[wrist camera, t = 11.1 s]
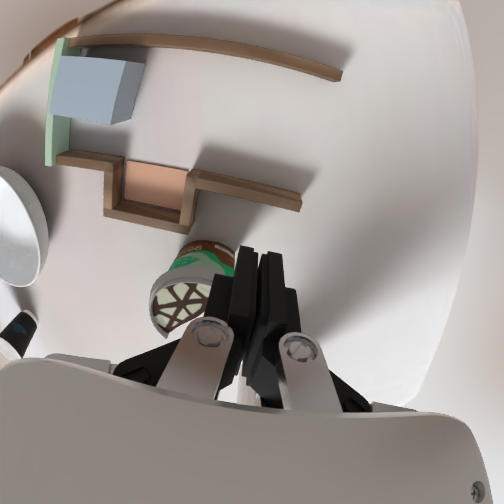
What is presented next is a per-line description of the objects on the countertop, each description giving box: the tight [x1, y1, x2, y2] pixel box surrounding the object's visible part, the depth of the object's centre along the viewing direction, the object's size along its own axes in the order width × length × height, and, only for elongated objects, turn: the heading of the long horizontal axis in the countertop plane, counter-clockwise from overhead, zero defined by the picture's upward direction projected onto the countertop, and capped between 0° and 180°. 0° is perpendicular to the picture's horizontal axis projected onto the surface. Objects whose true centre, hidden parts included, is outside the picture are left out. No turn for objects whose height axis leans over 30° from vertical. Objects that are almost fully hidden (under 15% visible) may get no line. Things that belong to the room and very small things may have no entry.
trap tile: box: [124, 160, 188, 210], centre depth 34 cm, size 5×8×1 cm, turn 77°
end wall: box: [45, 38, 81, 166], centre depth 26 cm, size 16×1×4 cm, turn 167°
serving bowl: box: [0, 166, 49, 287], centre depth 34 cm, size 21×21×7 cm
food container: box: [149, 240, 235, 339], centre depth 35 cm, size 12×6×10 cm, turn 130°
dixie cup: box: [0, 310, 38, 361], centre depth 45 cm, size 8×8×11 cm
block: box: [49, 56, 146, 125], centre depth 25 cm, size 7×9×6 cm
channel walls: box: [56, 34, 343, 235], centre depth 29 cm, size 22×31×3 cm
